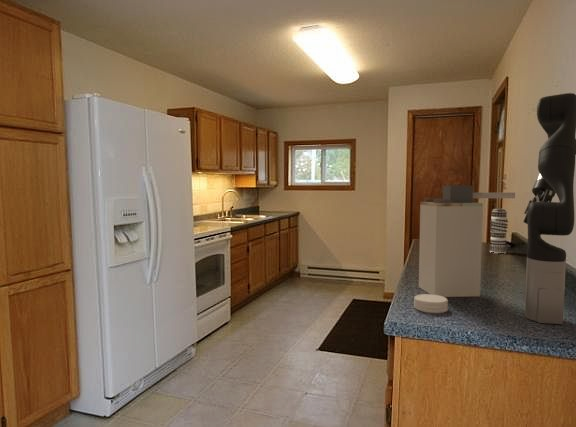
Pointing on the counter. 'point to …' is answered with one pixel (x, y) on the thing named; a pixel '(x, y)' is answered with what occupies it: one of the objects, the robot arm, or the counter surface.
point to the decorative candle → (498, 231)
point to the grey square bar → (470, 194)
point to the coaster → (430, 303)
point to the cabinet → (450, 247)
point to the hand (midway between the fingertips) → (532, 220)
